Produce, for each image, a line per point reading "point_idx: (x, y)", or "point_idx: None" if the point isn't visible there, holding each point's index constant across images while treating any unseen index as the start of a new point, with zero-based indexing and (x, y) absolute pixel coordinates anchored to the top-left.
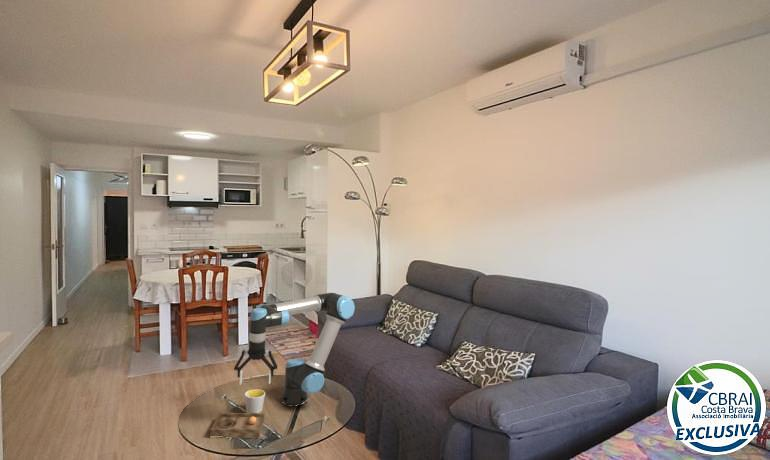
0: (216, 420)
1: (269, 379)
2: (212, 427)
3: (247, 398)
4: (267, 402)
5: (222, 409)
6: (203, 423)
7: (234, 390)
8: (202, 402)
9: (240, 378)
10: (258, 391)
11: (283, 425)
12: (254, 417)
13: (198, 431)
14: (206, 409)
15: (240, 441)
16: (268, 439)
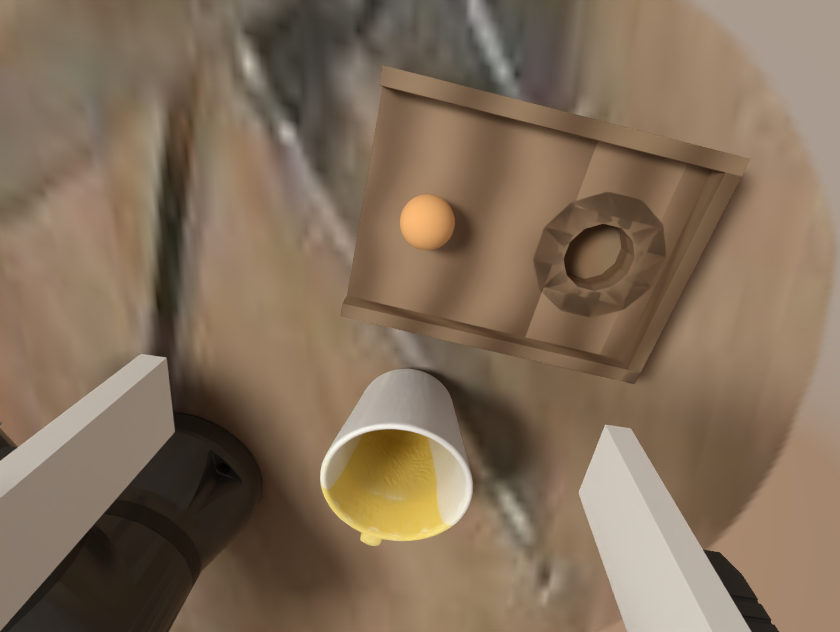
0: (674, 290)
1: (101, 400)
2: (725, 192)
3: (455, 442)
4: None
5: (576, 470)
6: (708, 350)
7: (494, 619)
8: None
9: (670, 513)
10: (371, 519)
11: (230, 208)
12: (413, 224)
13: (759, 263)
14: None
15: (519, 52)
16: (324, 30)
